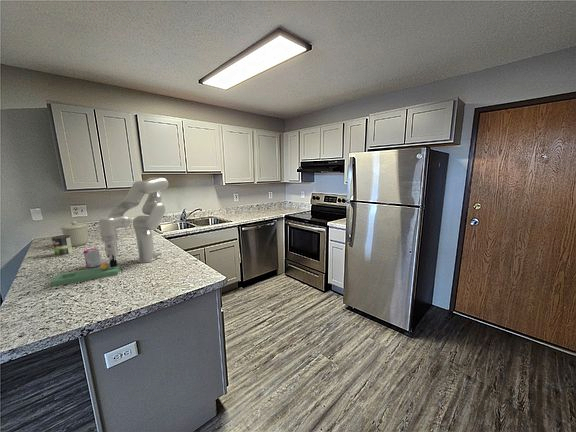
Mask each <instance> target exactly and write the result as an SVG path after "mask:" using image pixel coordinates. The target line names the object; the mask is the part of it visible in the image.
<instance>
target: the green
mask: <svg viewBox="0 0 576 432" xmlns="http://www.w3.org/2000/svg"><path fill="white" fill-rule="evenodd" d="M120 270H121V264H120V263H117V266H116V267H110V265H108V268H107V269H106V270H102V269H100V267H94V268H87V269H84V270H83V269H81V270H76V271H70V272H64V273H59V274H57V275H56V276H55V277H54V278H53V279H52V280H51V281H50V282H49V283H50V287H57V286H60V285H61V286H62V285H68V284H72V283H79V282H84V281H89V280H95V279H96V280H97V279H100V278H106V277H112V276H117V275H119V273H120Z"/></svg>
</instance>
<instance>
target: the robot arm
mask: <svg viewBox="0 0 576 432" xmlns="http://www.w3.org/2000/svg"><path fill="white" fill-rule="evenodd" d="M168 187H169V181H168V180H167V179H166V178H164V177H149V178H147V179H146V180H137V181H134V183H133V184H132V185H131V187H130V189H129V191H128V193H127V194H126V196H125V197H124V199H123V200H122V201H120V202H119V203H118V204H116V205H115V206H114V208H112V209H111V212H110V213H109V214H108V217H102V218H99V221H98V222H99V223H98V225H99V230H100V236H101V242H103V243H104V247H105V256H106V258H109V266H110V267H116V266H117V265H118V261H117V256H118V254H119V247H118V243H117V240H118V233H117V229H121V228H122V229H123V228H127V227H129V226H130V225H131V223H132V227H133V229H134V232H135V237H136V244H137V252H138V258H136V261H137V263H141V264H143V263H149V262H153V261H156V260H157V259H158V257H159V256H162V255H163V254H162V252H160V251H158V252H156V251H155V247H154V239H153V233H152V231H155V230H156V229H158V227H159V226H160V224H161V222H162V220H163V218H164V216H165V214H166V207H165V205H164V203H162V202H161V201H162V198H163V196H162V191H164V190H166V189H168ZM145 194H148V196H147V198H146V199H145V202H144V203H143V206H142V208H141V212H142V214H143V215H137V216H136V217H134V219H133V221H132V219H131V218H130V217H129V216H126V215H125V214H126V213H127V212H128V211H129V210H132V209H134V208H136V207H138V206H139V205H140V203H141V201H142V199H143V197H144V196H145Z"/></svg>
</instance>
